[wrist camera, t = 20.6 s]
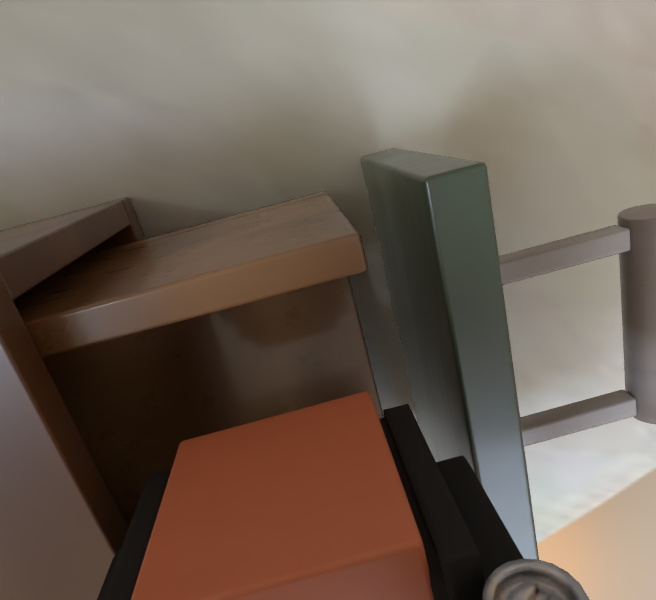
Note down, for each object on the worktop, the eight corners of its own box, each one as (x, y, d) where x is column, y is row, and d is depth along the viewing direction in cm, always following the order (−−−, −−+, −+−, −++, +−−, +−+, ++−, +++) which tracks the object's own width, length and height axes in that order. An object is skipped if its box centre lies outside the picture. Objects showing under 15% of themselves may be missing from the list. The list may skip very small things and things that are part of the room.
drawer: (567, 101, 16) (791, 79, 9) (589, 401, 20) (757, 546, 13) (-17, 257, 16) (-247, 357, 9) (122, 528, 19) (37, 746, 13)
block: (178, 439, 10) (119, 625, 6) (369, 388, 10) (423, 542, 6) (238, 582, 11) (219, 805, 8) (405, 535, 11) (469, 734, 8)
